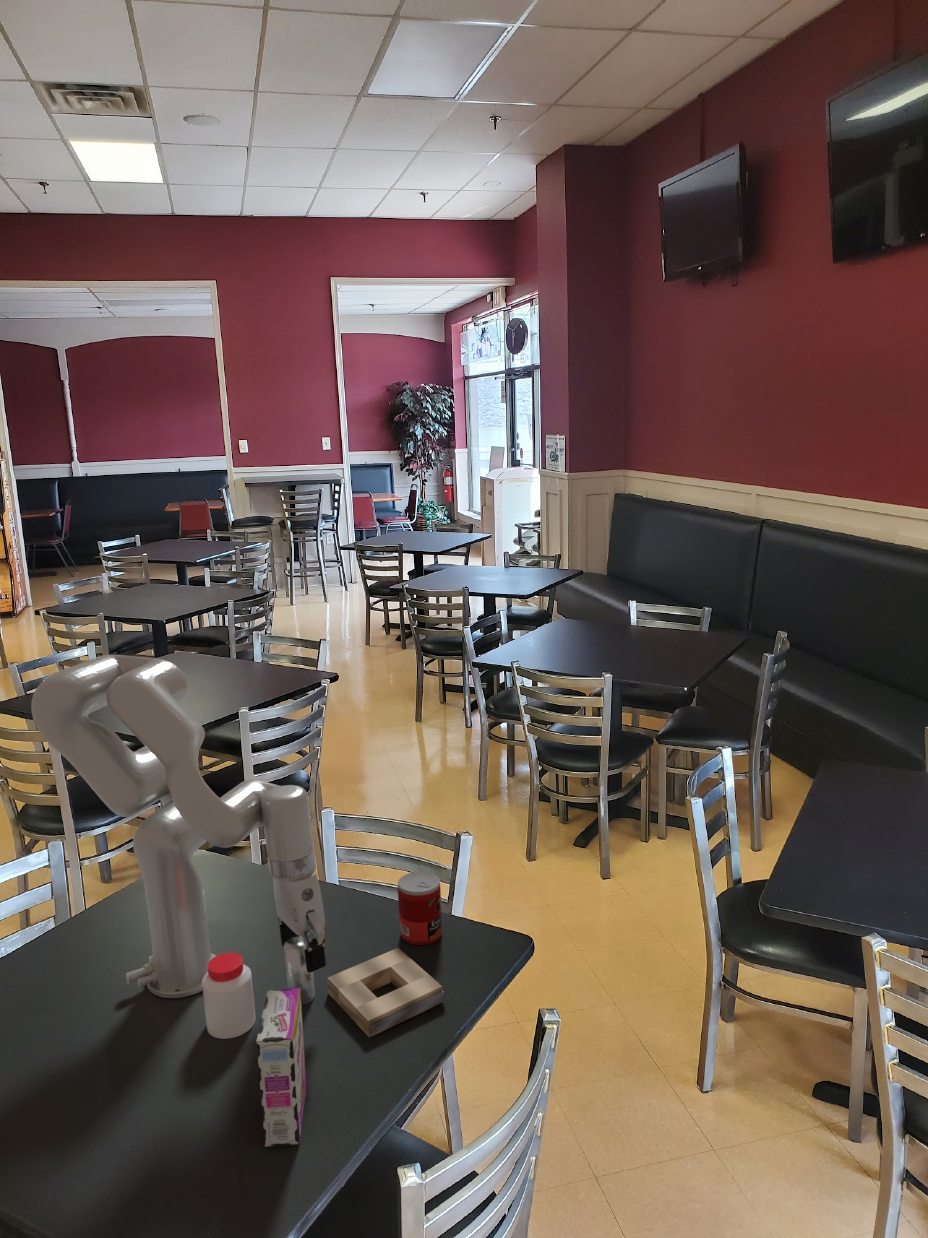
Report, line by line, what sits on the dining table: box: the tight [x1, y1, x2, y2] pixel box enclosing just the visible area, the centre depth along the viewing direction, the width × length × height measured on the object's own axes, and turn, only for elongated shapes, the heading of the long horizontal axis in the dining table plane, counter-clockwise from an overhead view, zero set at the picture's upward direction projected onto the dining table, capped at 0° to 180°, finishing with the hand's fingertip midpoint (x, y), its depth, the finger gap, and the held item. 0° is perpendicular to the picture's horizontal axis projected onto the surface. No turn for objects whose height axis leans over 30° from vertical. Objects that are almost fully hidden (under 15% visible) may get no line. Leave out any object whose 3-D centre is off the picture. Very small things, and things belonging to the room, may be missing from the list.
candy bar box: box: [255, 988, 308, 1148], centre depth 121 cm, size 11×5×16 cm, turn 5°
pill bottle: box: [202, 952, 257, 1040], centre depth 142 cm, size 8×8×11 cm
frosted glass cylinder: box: [283, 936, 316, 1006], centre depth 148 cm, size 4×4×10 cm
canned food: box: [397, 871, 443, 946], centre depth 165 cm, size 8×8×11 cm
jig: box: [327, 947, 446, 1038], centre depth 147 cm, size 14×15×3 cm
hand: (303, 956), depth 147 cm, fingers open, 9 cm apart
